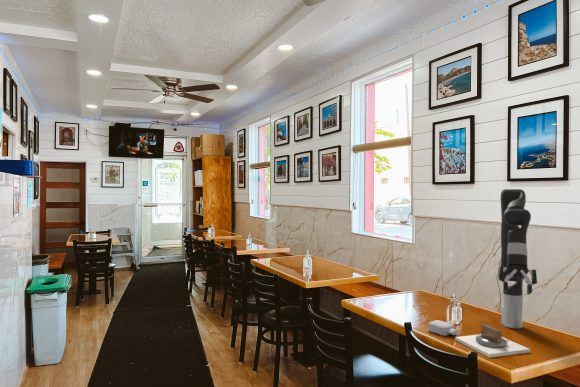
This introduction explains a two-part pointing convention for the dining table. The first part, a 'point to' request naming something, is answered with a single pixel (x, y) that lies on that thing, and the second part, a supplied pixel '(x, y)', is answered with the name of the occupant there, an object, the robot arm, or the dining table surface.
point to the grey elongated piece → (442, 328)
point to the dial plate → (490, 351)
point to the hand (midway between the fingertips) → (517, 292)
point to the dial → (491, 337)
